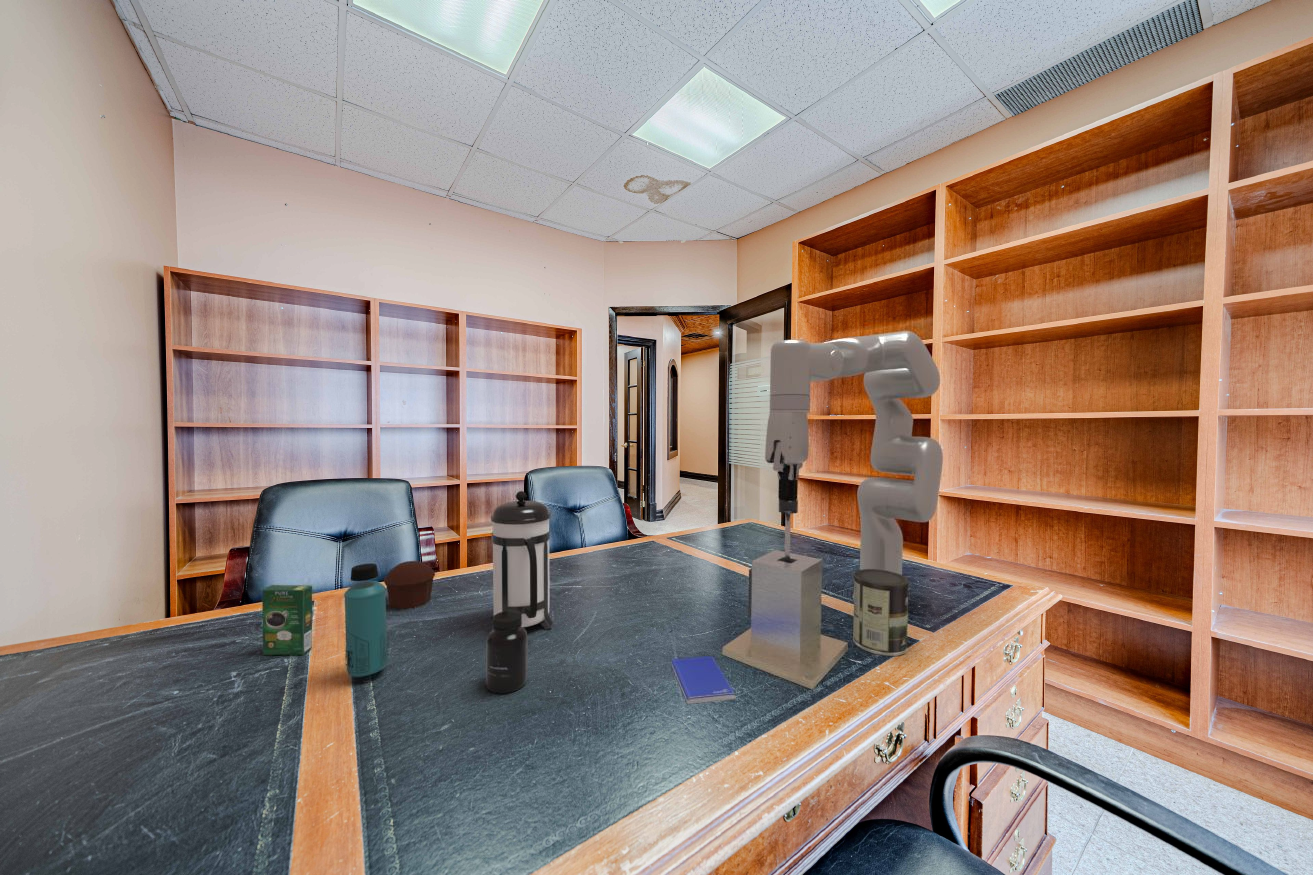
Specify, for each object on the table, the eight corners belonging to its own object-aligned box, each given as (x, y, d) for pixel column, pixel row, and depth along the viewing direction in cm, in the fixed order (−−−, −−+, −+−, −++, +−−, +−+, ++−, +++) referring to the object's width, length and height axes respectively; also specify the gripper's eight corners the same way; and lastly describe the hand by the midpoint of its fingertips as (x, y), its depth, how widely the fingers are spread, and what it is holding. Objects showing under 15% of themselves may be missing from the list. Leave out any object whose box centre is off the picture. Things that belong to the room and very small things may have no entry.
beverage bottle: (396, 669, 86) (395, 561, 85) (363, 689, 79) (361, 573, 79) (370, 663, 88) (368, 558, 87) (335, 682, 81) (333, 568, 81)
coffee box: (315, 648, 93) (313, 583, 93) (304, 655, 91) (302, 588, 90) (273, 648, 93) (271, 583, 93) (261, 656, 90) (259, 589, 90)
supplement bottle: (489, 699, 77) (488, 627, 76) (483, 678, 83) (483, 612, 82) (531, 688, 80) (531, 619, 79) (523, 669, 86) (522, 605, 85)
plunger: (778, 574, 97) (779, 495, 96) (810, 582, 92) (812, 499, 92) (763, 583, 92) (764, 499, 91) (796, 591, 87) (797, 503, 87)
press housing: (765, 624, 105) (766, 542, 105) (847, 650, 94) (849, 558, 93) (722, 654, 92) (723, 561, 91) (812, 689, 80) (814, 582, 79)
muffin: (375, 604, 116) (374, 564, 115) (419, 590, 125) (419, 553, 124) (399, 616, 109) (399, 573, 108) (444, 600, 118) (444, 561, 118)
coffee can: (898, 635, 100) (900, 570, 100) (914, 659, 90) (916, 587, 90) (847, 630, 102) (848, 566, 102) (858, 653, 92) (859, 583, 92)
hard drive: (735, 692, 77) (713, 655, 89) (687, 697, 76) (671, 658, 88) (735, 701, 77) (712, 663, 89) (687, 707, 76) (671, 667, 88)
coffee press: (467, 634, 100) (465, 494, 98) (516, 606, 114) (515, 484, 113) (535, 650, 93) (534, 500, 92) (577, 618, 108) (577, 489, 107)
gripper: (788, 406, 99) (786, 493, 99) (753, 404, 87) (751, 502, 88) (823, 406, 94) (821, 497, 95) (791, 403, 82) (789, 507, 83)
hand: (787, 499), depth 91 cm, fingers closed
